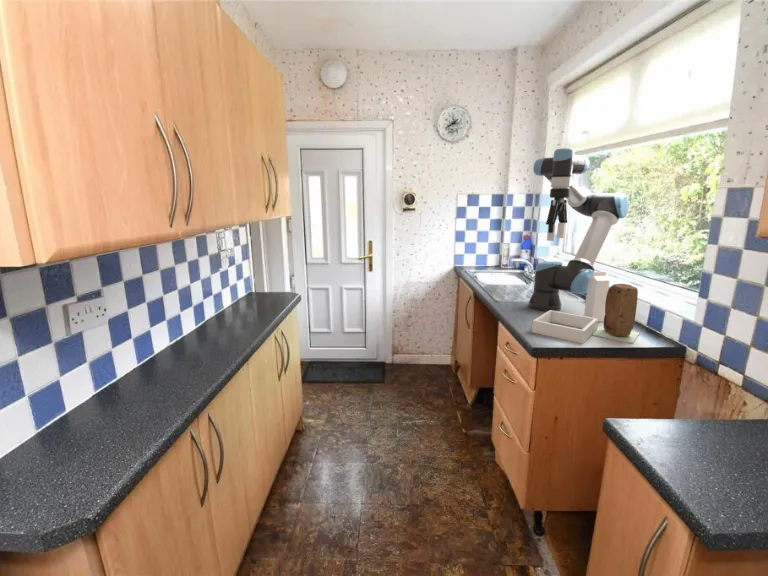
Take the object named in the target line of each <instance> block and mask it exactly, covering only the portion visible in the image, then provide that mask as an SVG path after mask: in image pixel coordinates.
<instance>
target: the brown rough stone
mask: <svg viewBox="0 0 768 576" xmlns="http://www.w3.org/2000/svg"><path fill="white" fill-rule="evenodd" d="M638 292H639V290H638V288H637V287H635V286H633V285H631V284H626V283H614V284H612V285H611V286H609V288H608V292H607V296H606V302H605V317H604V322H603V326H604V329H605V330H606V331H607V332H608V333H610V334H612V335H614V336H620V337H627V336H628V335H630V333H631V331H632V330H634V326H635V321H636V316H637V314H636V313H637V305H638V298H639V297H638V294H639V293H638Z"/></svg>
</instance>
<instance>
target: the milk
mask: <svg viewBox="0 0 768 576" xmlns="http://www.w3.org/2000/svg"><path fill="white" fill-rule="evenodd" d="M609 288H610V279H609V278H608V276H607V272H606V271H594V273H593V276H591V277H590V278H589V279H588V287H587V293H586V295H585V306H584V311H583V312H584V313H583V316H586V317H591V318H597V319H598V322H601V323H602V322H603V323H604V317H605V302H606V296H607V292H608V290H609Z"/></svg>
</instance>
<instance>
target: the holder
mask: <svg viewBox="0 0 768 576" xmlns="http://www.w3.org/2000/svg"><path fill="white" fill-rule="evenodd" d="M531 326H532V327H531V333H535V334H539V335H544V336H548V337H552V338H556V339H561V340H565V341H570V342H575V343H578V344H584V343H585V342H586V341H587V340H588V339H589V338H590V337H591V336H593V335H592V334H593V333H594V332H595V331H596V330H597V329H598V319H597V318H591V317H586V316H584V315H579V314H573V313H568V312H562V311H559V310H558V311H553V310H549V311H545V312H544V313H543V314H541V315H540V316H538V317H536V318H534V319H533V320H532V325H531ZM580 328H581V329H580Z"/></svg>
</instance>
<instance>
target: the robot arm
mask: <svg viewBox="0 0 768 576" xmlns="http://www.w3.org/2000/svg"><path fill="white" fill-rule="evenodd" d="M589 167H590V160H589V158H588V157H587V156H584V155H582V154H581V155H579V154H577V155H576V154H575V150H574V148H572V147H571V148H570V147H564V148H557V149H555V150H554V152H553V156H552V157H543V158H539V159H536V160H535V162H534V164H533V173H534V174H535V175H536V176H540V177H543V176H544V177H545V178H546V180H547V181H548V182H549V183H550V187H551V189H550V191H549V192H550V193H549V197H550V198H551V200H550V206H549V211H548V214H547V218H546V222H545V225H547V235H546V241H549V242H554V241H555V234H556V238H557V239H564V237H565V228H566V224H567V223H568V216H567V215H568V212H567V204H568V205H569V206H570V208H571V209H573V210H574V211H576V212H577V213H579V214H581V215H582V216H586V217H591V218H592V221H591V223H590V225H589V227H588V230H587V231H586V233H585V235H584V237H583V240H582V242H581V244H580V246H579V249H578V250H577V252H576V254H575V256H574V259H569V261H568V263H567V265H563V263H562V262H561V261H542V262H538V263H536V266H535V271H534V283H533V284H534V286H533V292H532V295H531V297H530V298H529V301H528V307H529V308H530V307H531V309H534V310H537V311H541V310H542V311H543V312H548V311H549V310H553V311H558V312H559V311H561V309H562V301H561V298H560V291H564V292H569V293H572V294H579V295H585V294H587V287H588V279H589V278H590V277H591V276H593V273H594V272H595V268H594V265H595V262H596V260H597V258H598V256H599V254H600V252H601V249H602V247H603V245H604V244H605V241H606V239H607V236H608V235H609V232H610V230H611V228H612V226H614V225H616V224H617V223H618V221H619V219H624V218H625V217H626V216H627V215H628V211H629V200H628V197H627V195H626V194H625V193H623V192H622V193H621V192H614V193H612V192H611V193H607V192H604V193H603V192H602V193H601V192H600V193H599V192H596V193H595V192H587V190H585V189H582V188H581V187H579V185H578V184H577V183H576V181H574V180H573V179H572V176H573V175H581V174H584V173H586V172H587V171H588V169H589ZM557 220H558V222H557ZM556 222H557V231H556Z"/></svg>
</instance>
